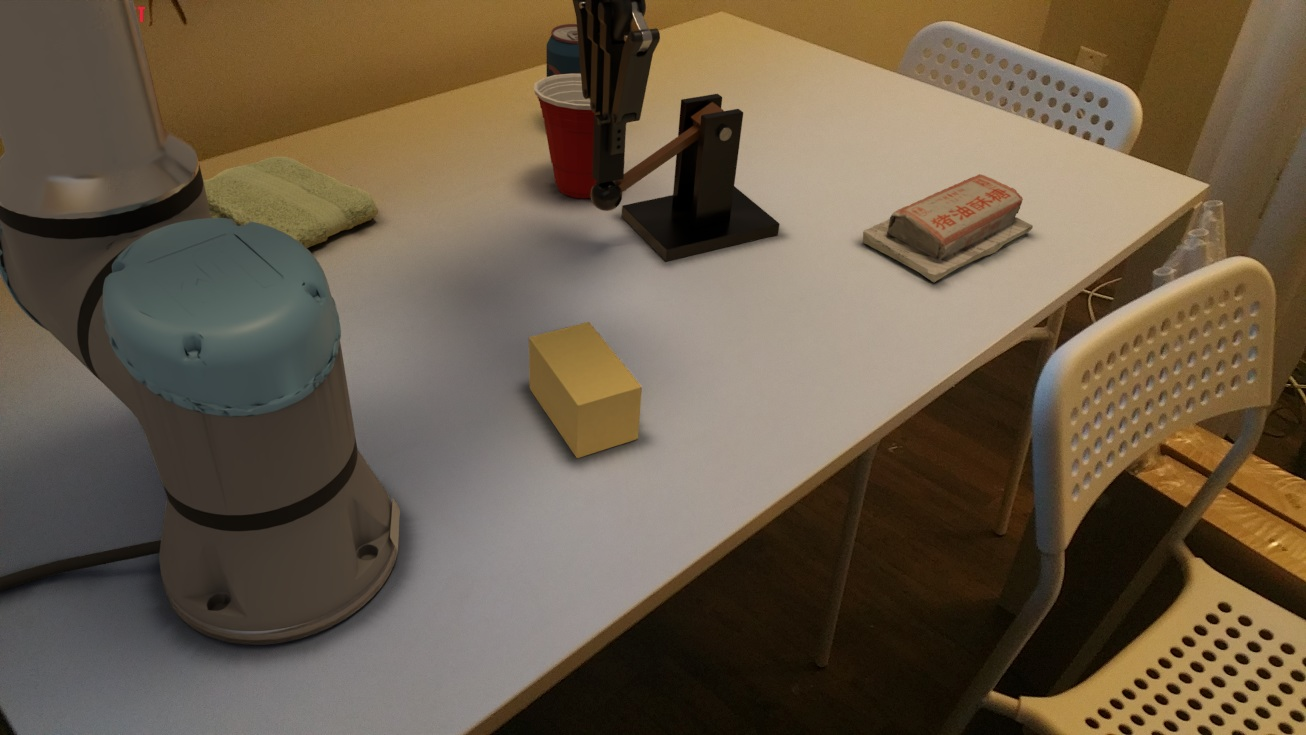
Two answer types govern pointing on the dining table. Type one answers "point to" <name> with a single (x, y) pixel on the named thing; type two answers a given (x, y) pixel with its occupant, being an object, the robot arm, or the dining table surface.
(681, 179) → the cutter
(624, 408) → the butter
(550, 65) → the soda can
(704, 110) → the arm
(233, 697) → the dining table surface
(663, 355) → the dining table surface
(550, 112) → the plastic cup
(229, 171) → the washcloth
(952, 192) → the packaged product
